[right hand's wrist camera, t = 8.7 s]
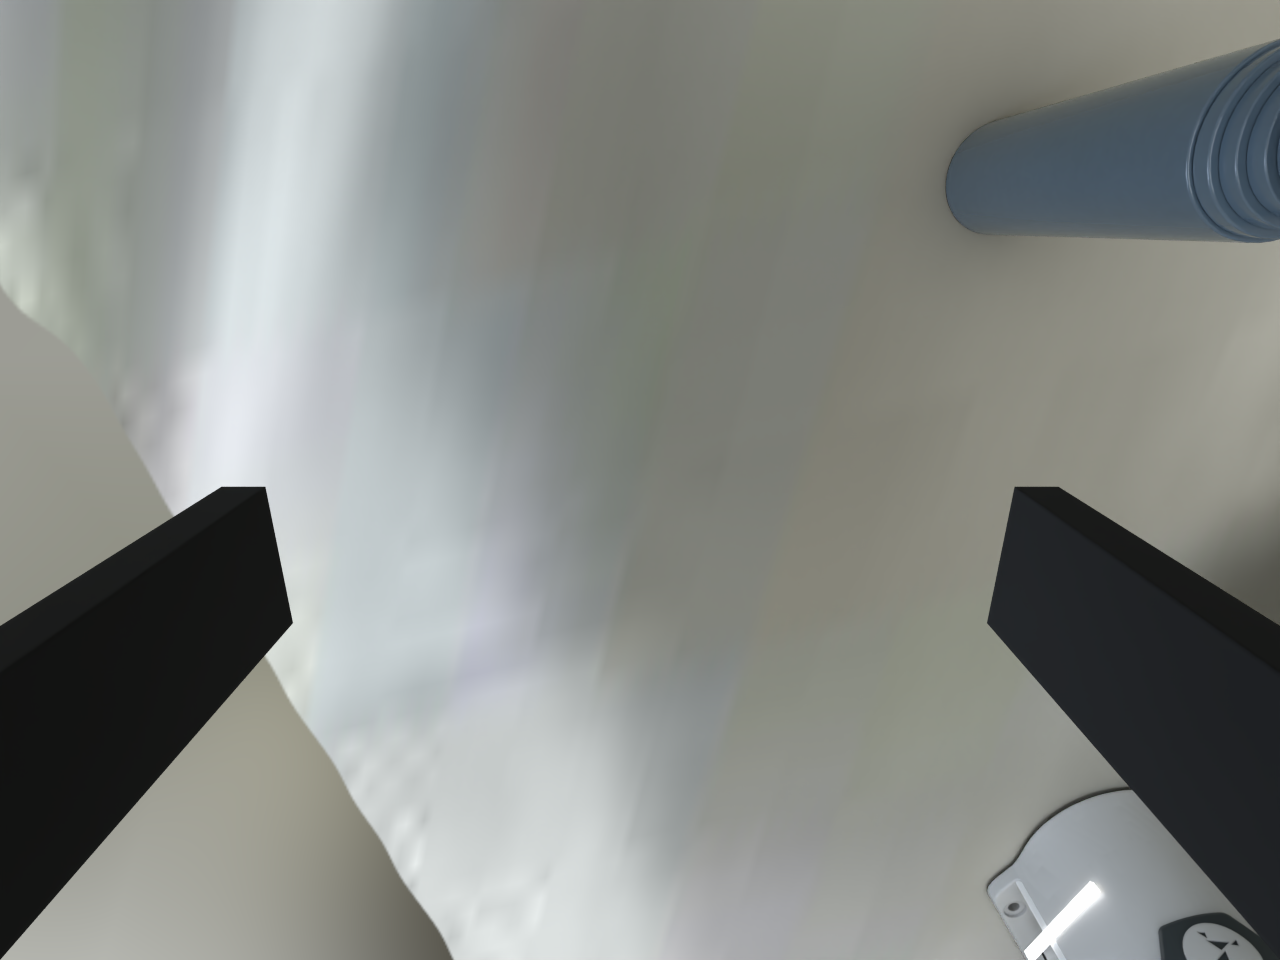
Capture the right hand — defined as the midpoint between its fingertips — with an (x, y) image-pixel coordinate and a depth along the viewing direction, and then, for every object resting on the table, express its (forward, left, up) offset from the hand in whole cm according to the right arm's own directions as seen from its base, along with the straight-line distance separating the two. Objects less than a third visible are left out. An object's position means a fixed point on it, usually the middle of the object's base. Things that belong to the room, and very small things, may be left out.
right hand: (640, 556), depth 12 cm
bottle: (-8, +19, -28) cm, 35 cm away
